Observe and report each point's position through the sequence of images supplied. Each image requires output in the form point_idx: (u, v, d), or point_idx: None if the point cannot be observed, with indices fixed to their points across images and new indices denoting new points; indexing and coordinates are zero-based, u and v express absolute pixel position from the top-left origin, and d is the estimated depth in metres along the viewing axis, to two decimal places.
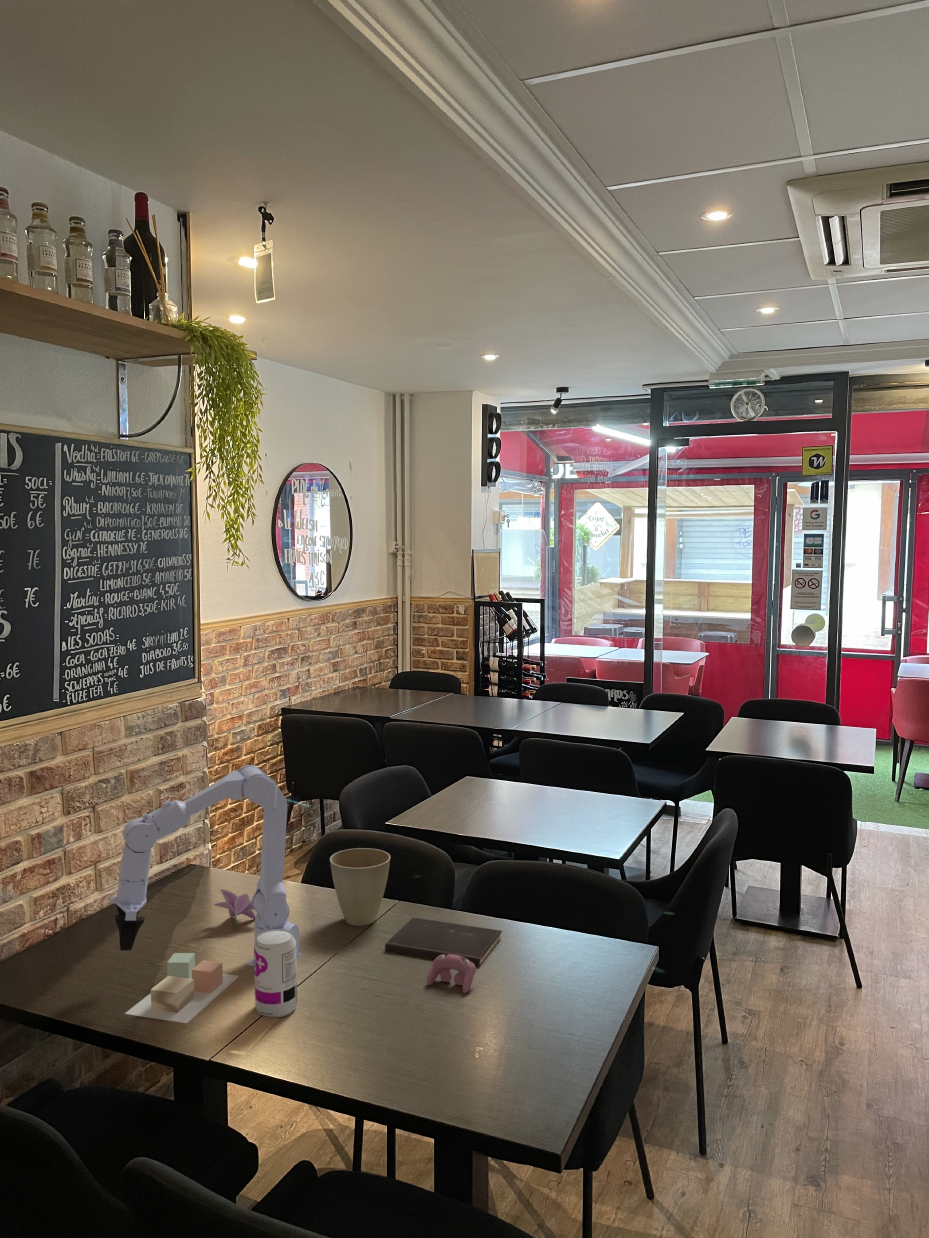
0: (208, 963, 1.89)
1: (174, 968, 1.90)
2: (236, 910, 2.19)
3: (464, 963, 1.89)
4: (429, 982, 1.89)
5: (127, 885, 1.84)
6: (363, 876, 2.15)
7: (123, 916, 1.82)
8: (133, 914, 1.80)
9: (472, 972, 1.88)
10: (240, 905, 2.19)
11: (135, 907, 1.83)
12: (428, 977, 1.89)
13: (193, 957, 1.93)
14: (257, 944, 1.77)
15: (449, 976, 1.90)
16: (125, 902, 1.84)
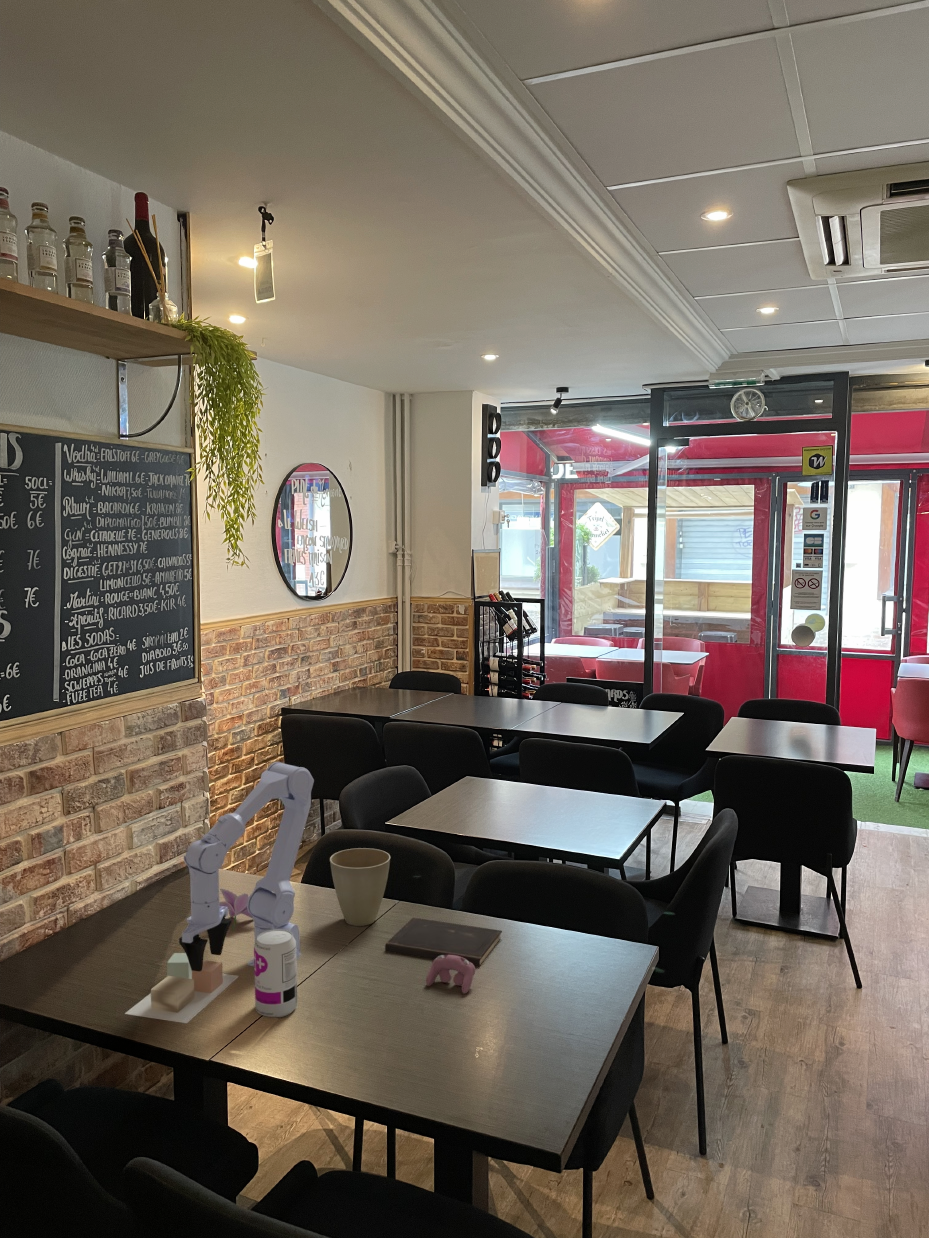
0: (208, 963, 1.89)
1: (174, 968, 1.90)
2: (236, 910, 2.19)
3: (463, 964, 1.89)
4: (428, 983, 1.89)
5: (193, 906, 1.85)
6: (363, 876, 2.15)
7: None
8: (187, 937, 1.80)
9: (472, 972, 1.88)
10: (240, 904, 2.19)
11: (196, 929, 1.83)
12: (427, 978, 1.89)
13: None
14: (257, 944, 1.77)
15: (449, 976, 1.90)
16: (193, 922, 1.85)
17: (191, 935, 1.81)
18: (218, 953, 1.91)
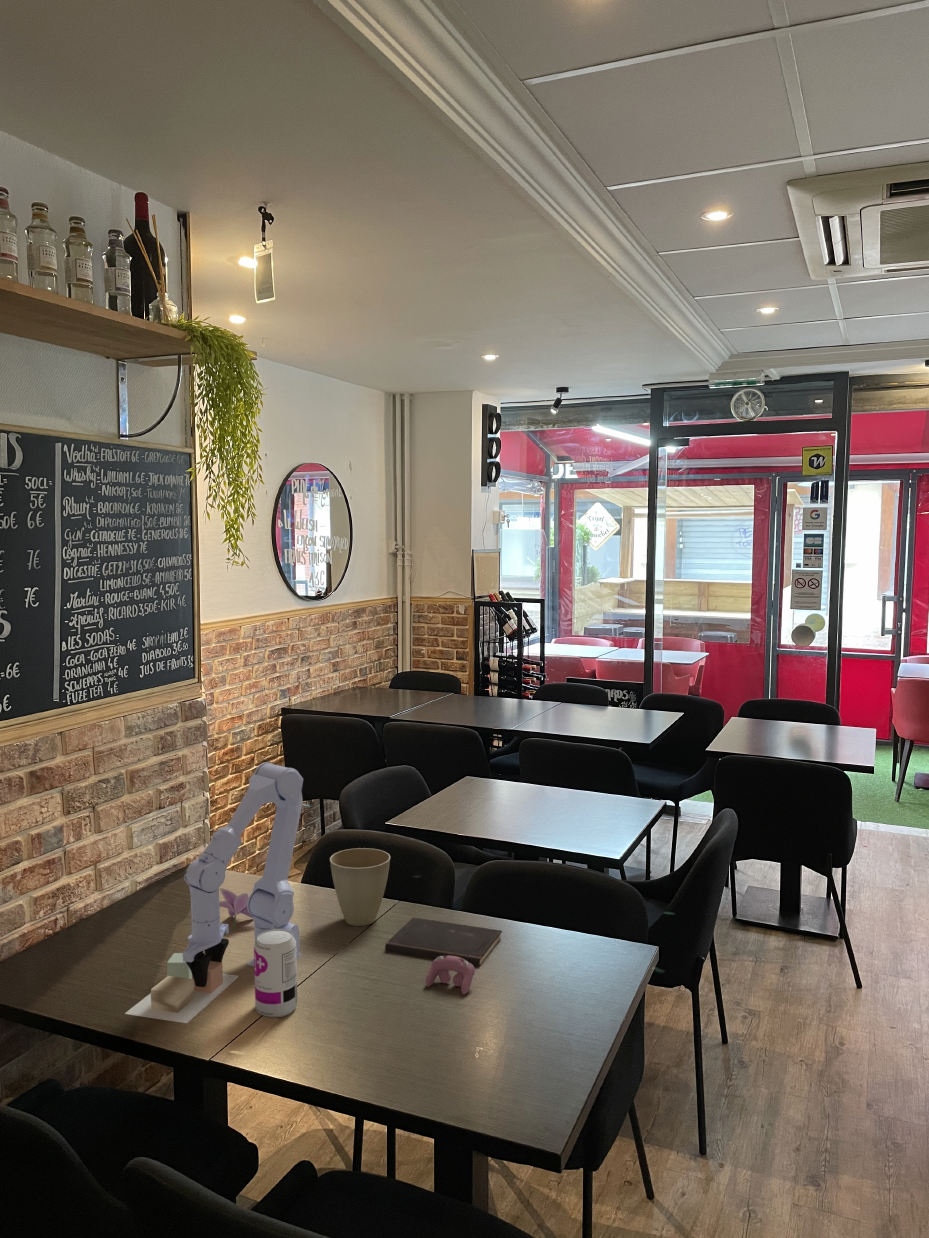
0: None
1: (174, 968, 1.90)
2: (236, 909, 2.19)
3: (463, 964, 1.88)
4: (428, 983, 1.88)
5: (193, 925, 1.85)
6: (363, 876, 2.15)
7: None
8: (188, 956, 1.81)
9: (471, 973, 1.88)
10: (239, 904, 2.19)
11: (197, 948, 1.83)
12: (427, 978, 1.89)
13: None
14: (257, 944, 1.77)
15: (448, 977, 1.90)
16: (194, 941, 1.86)
17: (192, 954, 1.81)
18: None
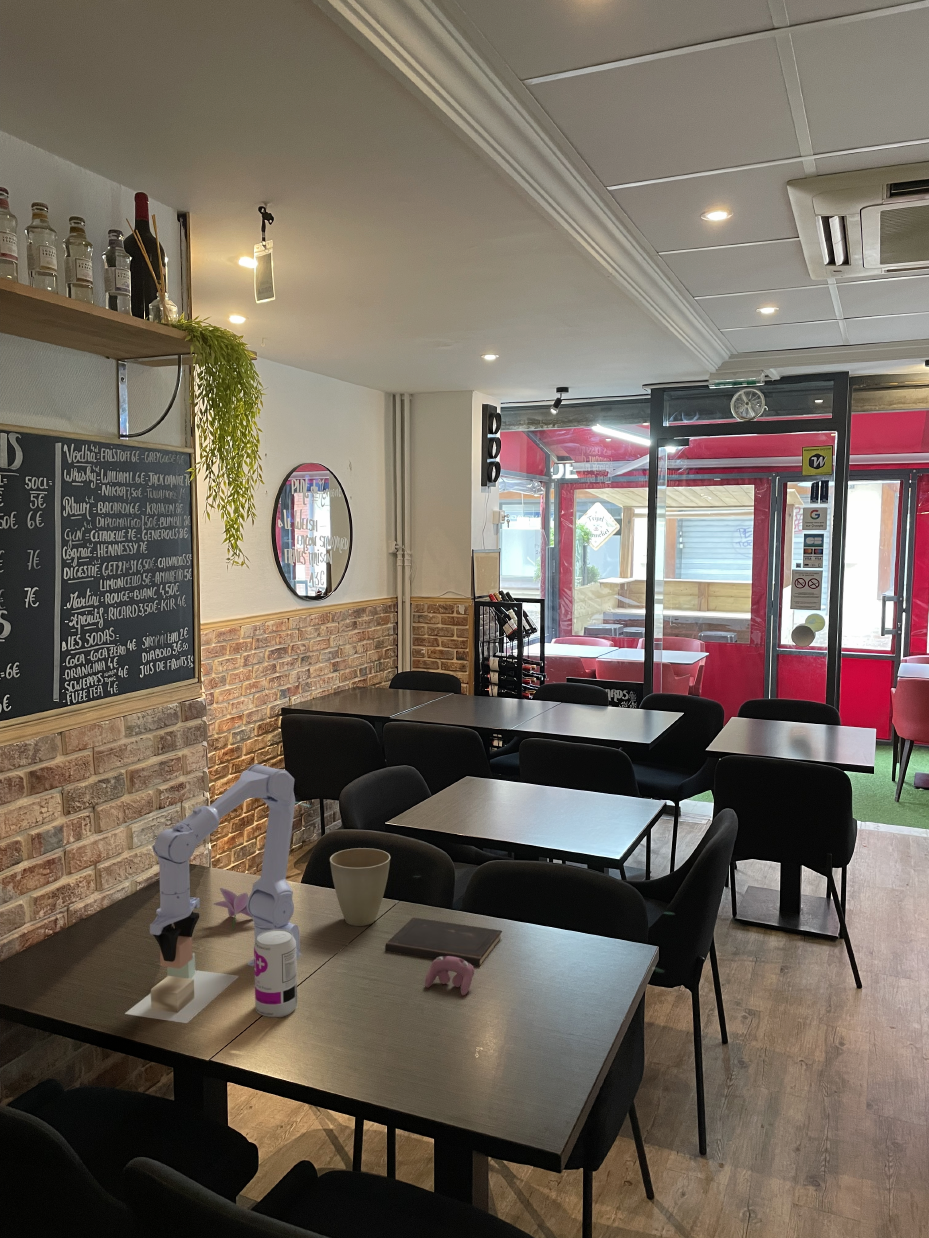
0: None
1: (174, 968, 1.90)
2: (235, 909, 2.20)
3: (462, 965, 1.88)
4: (427, 984, 1.88)
5: (162, 897, 1.79)
6: (363, 876, 2.15)
7: None
8: (155, 928, 1.74)
9: (471, 973, 1.87)
10: (239, 904, 2.20)
11: (165, 921, 1.76)
12: (426, 979, 1.88)
13: (193, 957, 1.93)
14: (257, 944, 1.77)
15: (448, 978, 1.89)
16: (162, 914, 1.79)
17: (159, 927, 1.74)
18: None
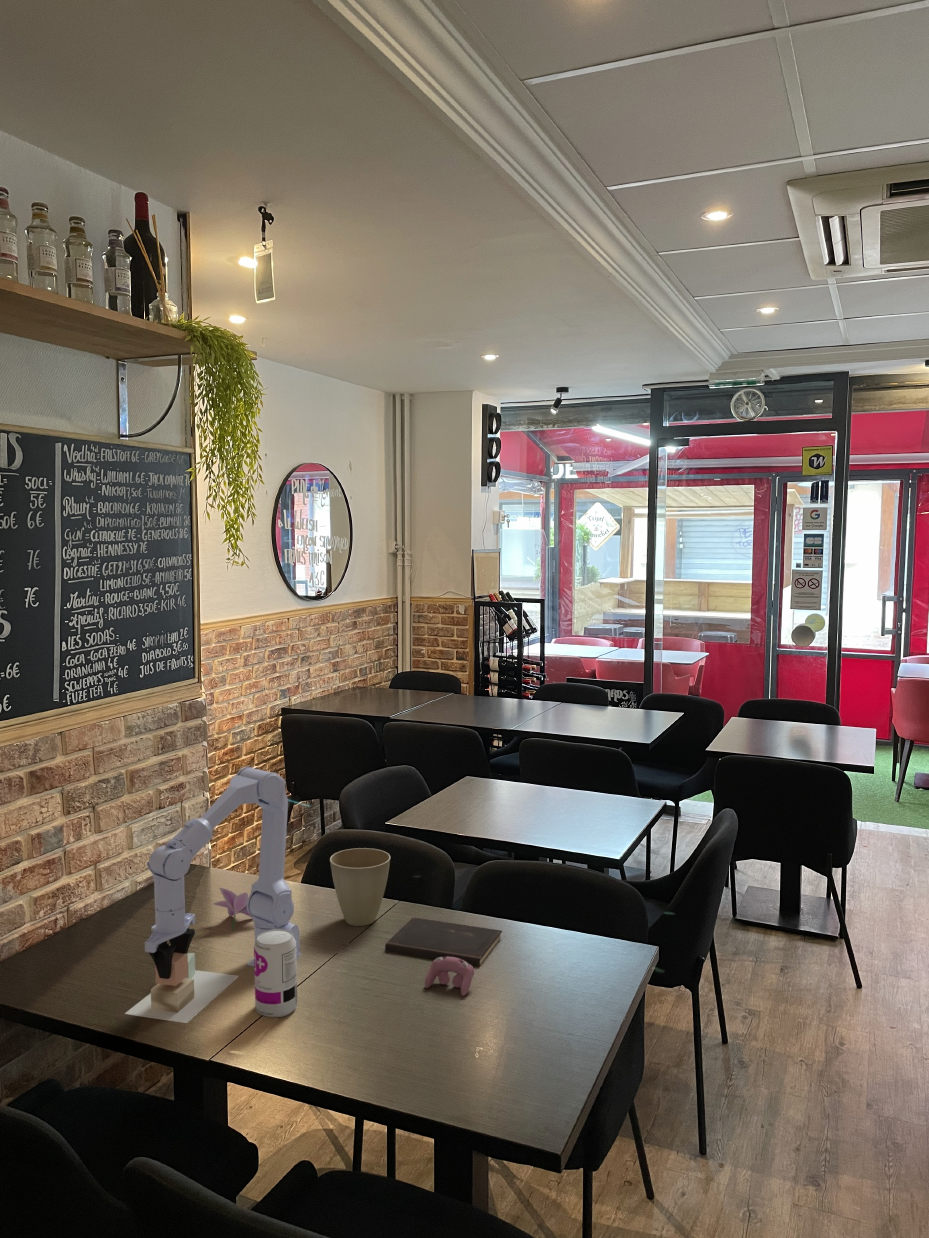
0: (173, 955, 1.82)
1: None
2: (235, 909, 2.20)
3: (462, 965, 1.88)
4: (427, 985, 1.88)
5: (157, 914, 1.78)
6: (363, 876, 2.15)
7: None
8: (150, 946, 1.73)
9: (471, 974, 1.87)
10: (239, 903, 2.20)
11: (160, 938, 1.76)
12: (426, 980, 1.88)
13: (193, 957, 1.93)
14: (257, 944, 1.77)
15: (447, 978, 1.89)
16: (157, 931, 1.78)
17: (154, 944, 1.74)
18: None
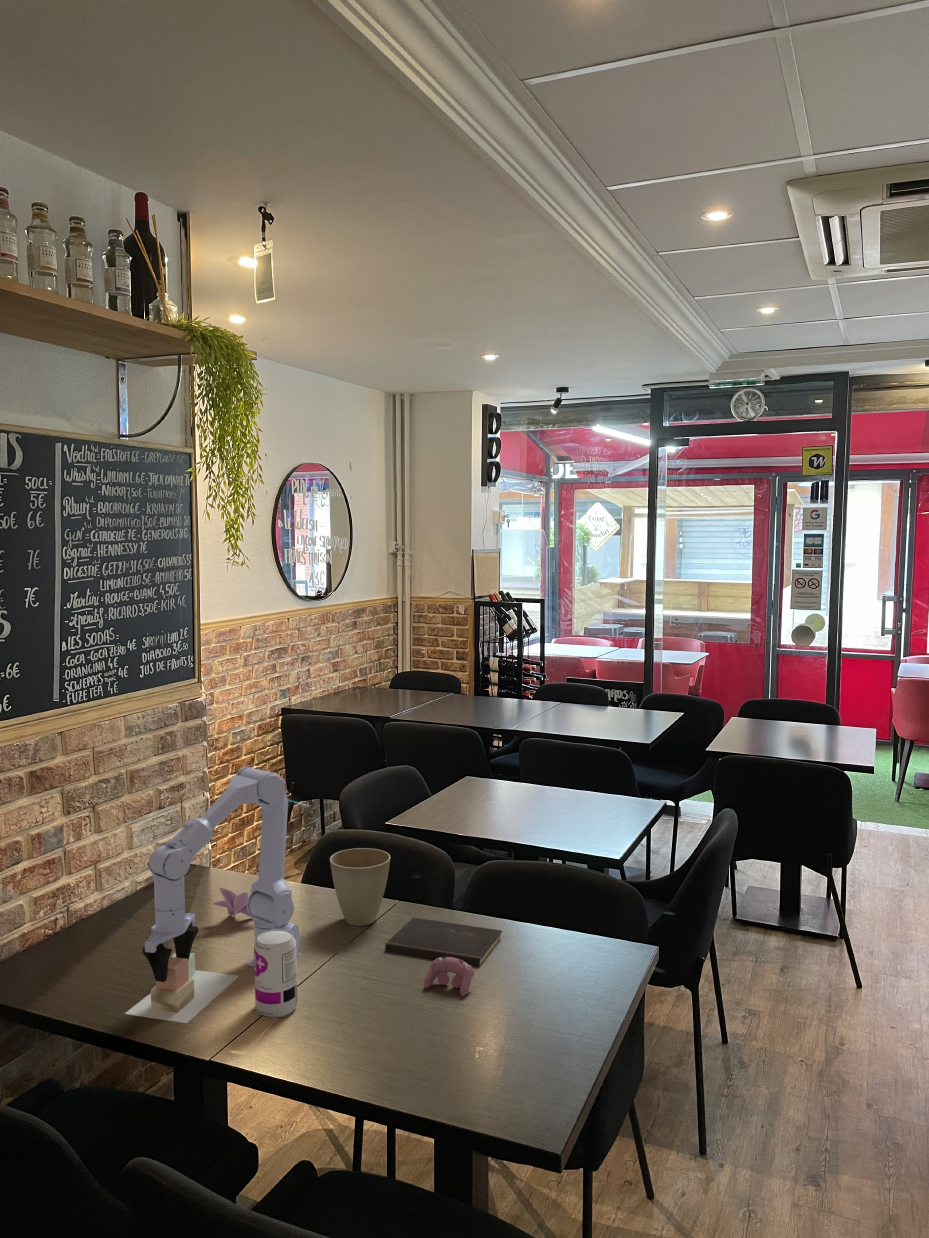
0: (173, 960, 1.82)
1: None
2: (235, 909, 2.20)
3: (462, 966, 1.87)
4: (427, 985, 1.88)
5: (157, 914, 1.78)
6: (363, 876, 2.15)
7: None
8: (150, 946, 1.73)
9: (470, 974, 1.87)
10: (239, 903, 2.20)
11: (160, 938, 1.76)
12: (426, 980, 1.88)
13: (193, 957, 1.93)
14: (257, 944, 1.77)
15: (447, 979, 1.89)
16: (157, 931, 1.78)
17: (154, 944, 1.74)
18: None
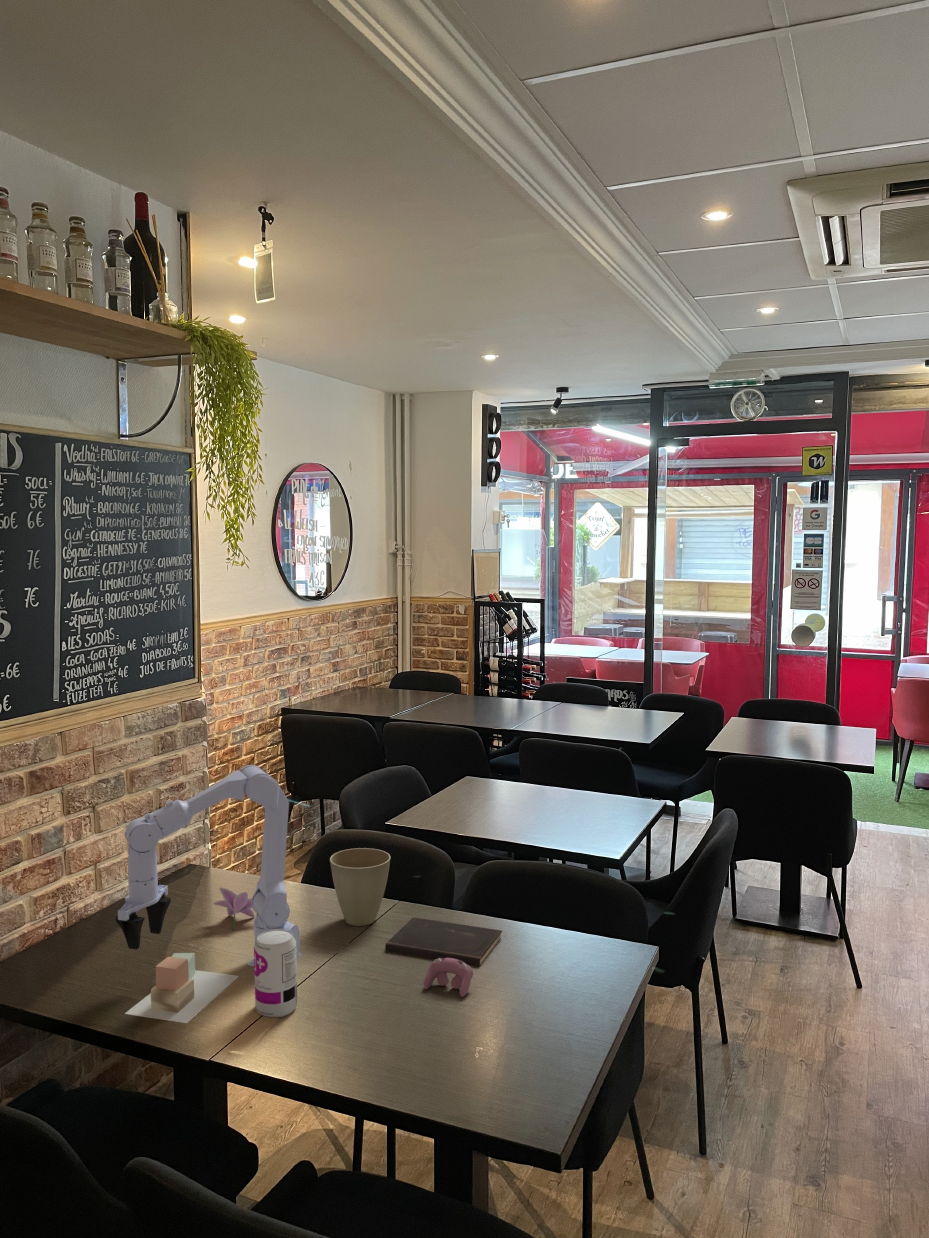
0: (173, 960, 1.82)
1: None
2: (235, 908, 2.20)
3: (461, 967, 1.87)
4: (426, 986, 1.87)
5: (130, 884, 1.85)
6: (363, 876, 2.15)
7: None
8: (123, 914, 1.80)
9: (470, 975, 1.87)
10: (239, 903, 2.20)
11: (133, 907, 1.82)
12: (425, 981, 1.87)
13: (193, 957, 1.93)
14: (257, 944, 1.77)
15: (446, 979, 1.89)
16: (130, 900, 1.85)
17: (127, 913, 1.80)
18: (157, 932, 1.91)
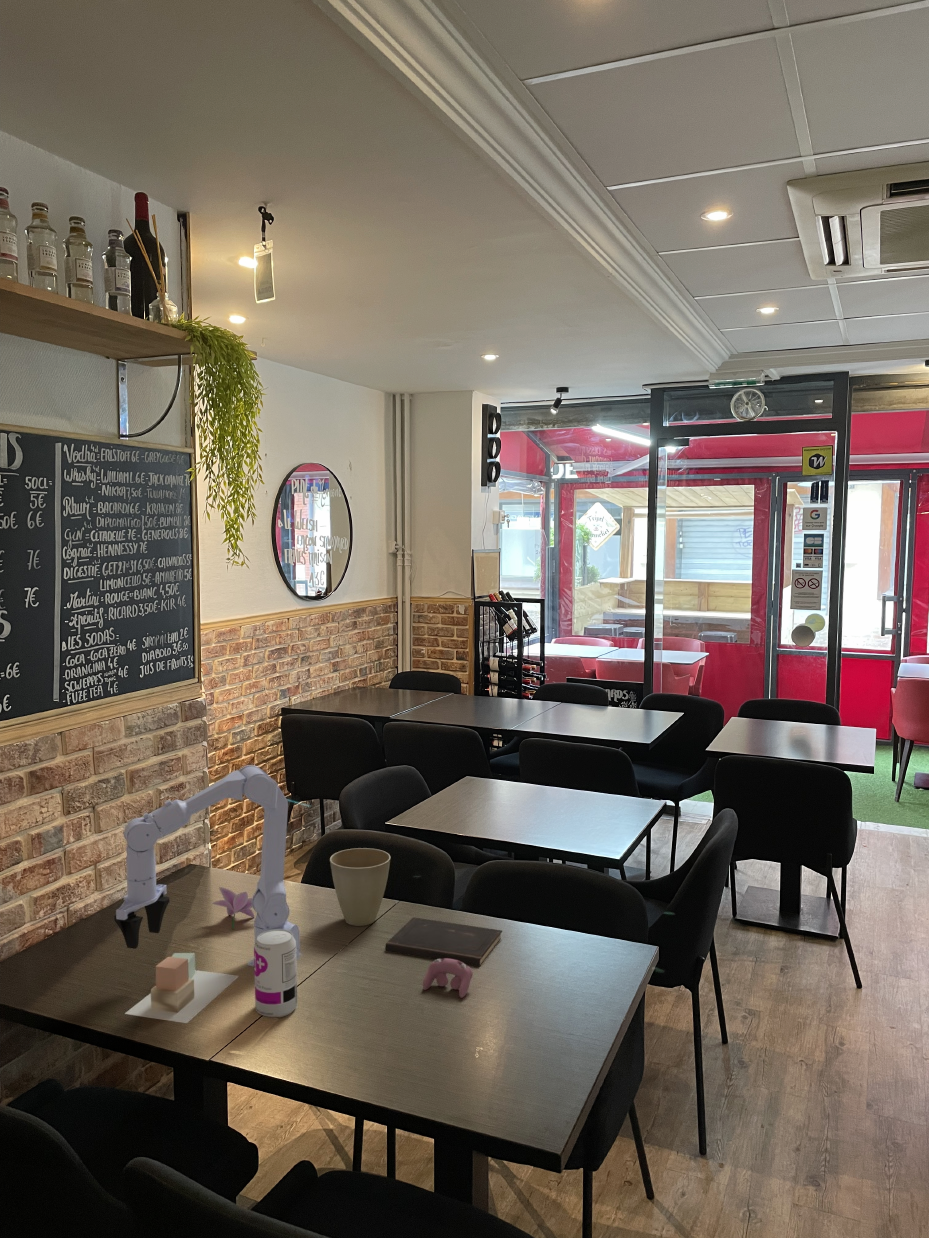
0: (173, 960, 1.82)
1: None
2: (235, 908, 2.20)
3: (461, 967, 1.87)
4: (425, 987, 1.87)
5: (129, 884, 1.85)
6: (363, 876, 2.15)
7: None
8: (122, 913, 1.81)
9: (469, 976, 1.86)
10: (239, 903, 2.20)
11: (131, 906, 1.83)
12: (424, 981, 1.87)
13: (193, 957, 1.93)
14: (257, 944, 1.77)
15: (446, 980, 1.88)
16: (129, 900, 1.85)
17: (125, 912, 1.81)
18: (156, 931, 1.91)
